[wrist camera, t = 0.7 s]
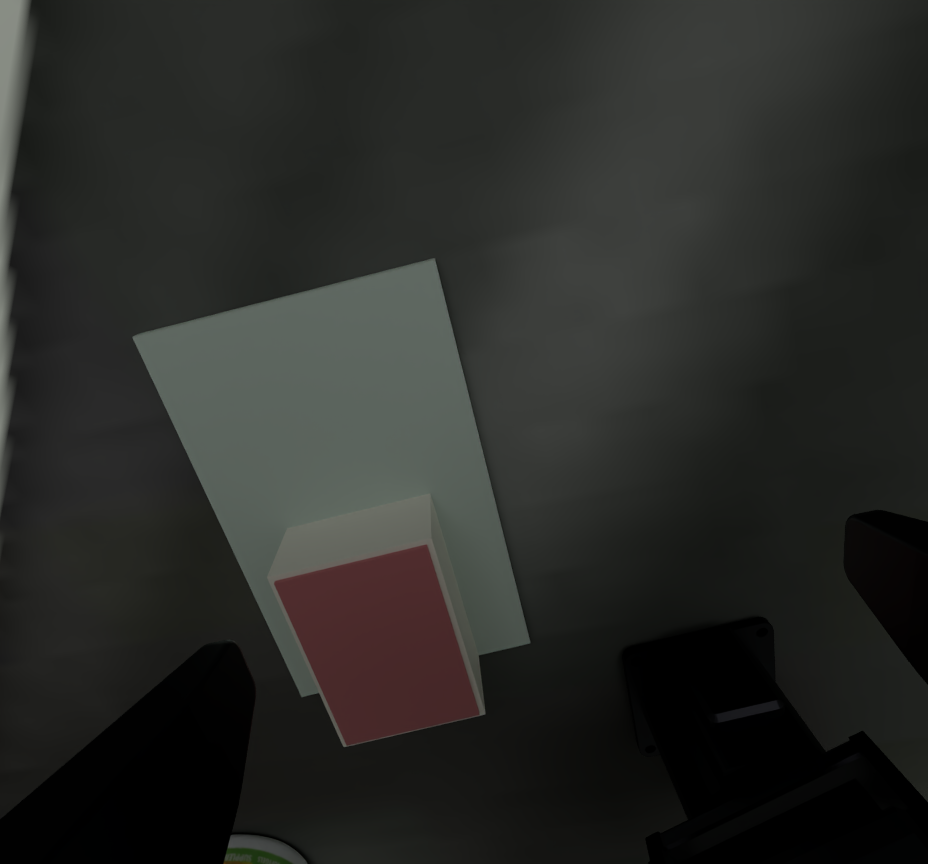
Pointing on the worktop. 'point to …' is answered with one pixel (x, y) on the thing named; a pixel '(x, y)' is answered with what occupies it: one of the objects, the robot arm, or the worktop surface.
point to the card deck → (380, 620)
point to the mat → (337, 431)
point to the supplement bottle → (260, 851)
